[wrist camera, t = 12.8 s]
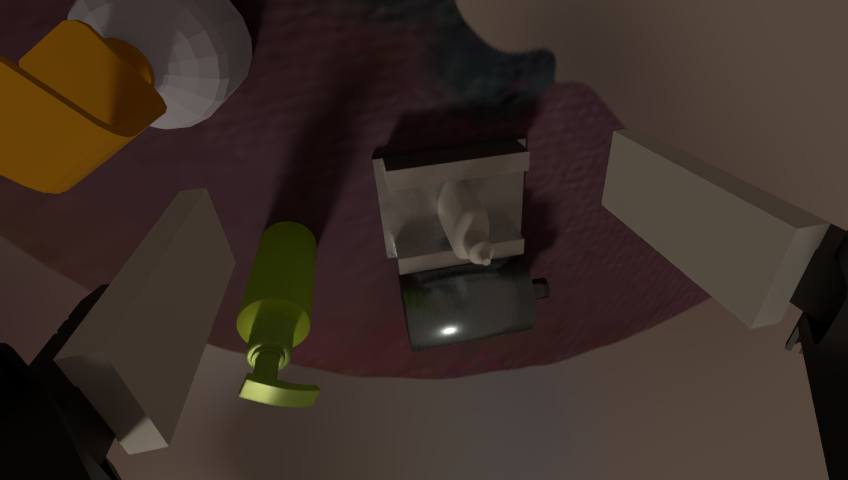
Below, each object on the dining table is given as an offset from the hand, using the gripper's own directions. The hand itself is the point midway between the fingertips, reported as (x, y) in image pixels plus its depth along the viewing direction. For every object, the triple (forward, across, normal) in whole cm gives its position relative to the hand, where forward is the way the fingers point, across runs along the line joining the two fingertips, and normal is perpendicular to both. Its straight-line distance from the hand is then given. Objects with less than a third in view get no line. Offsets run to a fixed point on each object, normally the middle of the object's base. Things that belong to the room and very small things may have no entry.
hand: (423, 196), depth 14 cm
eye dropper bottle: (+28, +7, -15) cm, 32 cm away
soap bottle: (+29, -14, +3) cm, 32 cm away
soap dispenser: (+29, -11, -18) cm, 36 cm away
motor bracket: (+29, +8, -20) cm, 36 cm away
